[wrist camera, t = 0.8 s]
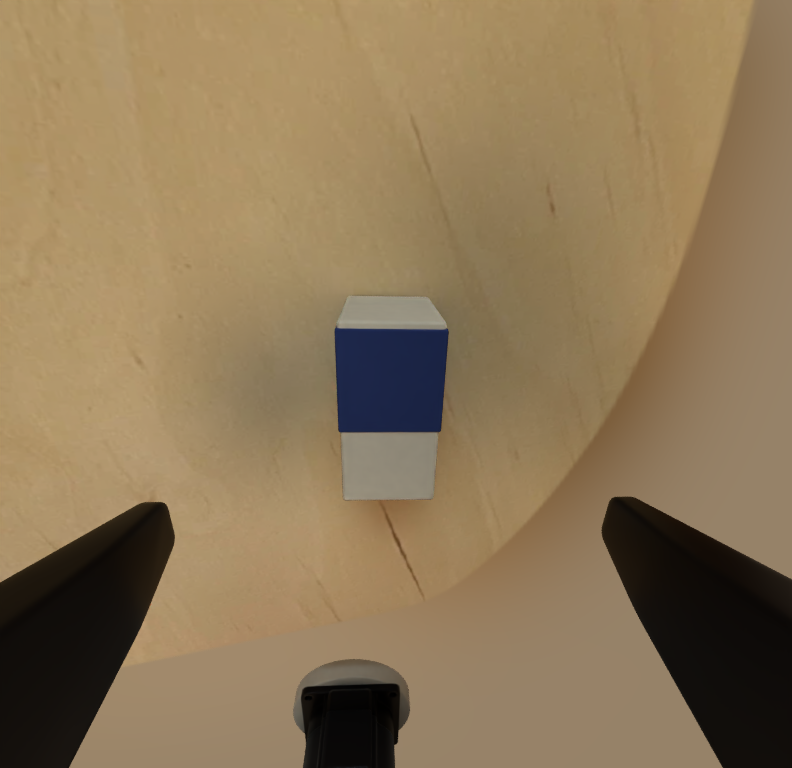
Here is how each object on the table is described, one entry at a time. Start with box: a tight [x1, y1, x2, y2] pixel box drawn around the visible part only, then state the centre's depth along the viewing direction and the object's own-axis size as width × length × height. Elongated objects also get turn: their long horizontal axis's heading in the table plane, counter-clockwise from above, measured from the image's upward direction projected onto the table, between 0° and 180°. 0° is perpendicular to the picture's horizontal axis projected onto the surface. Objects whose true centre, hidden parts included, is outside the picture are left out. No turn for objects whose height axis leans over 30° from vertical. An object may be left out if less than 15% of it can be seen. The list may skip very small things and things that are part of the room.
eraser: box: [335, 296, 449, 501], centre depth 13 cm, size 6×3×4 cm, turn 179°
